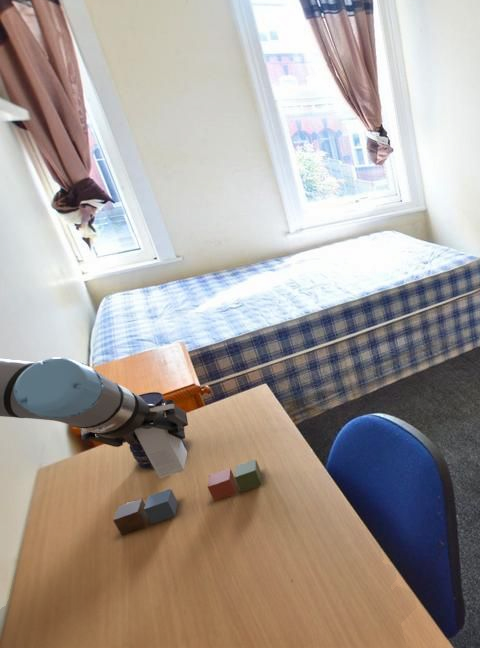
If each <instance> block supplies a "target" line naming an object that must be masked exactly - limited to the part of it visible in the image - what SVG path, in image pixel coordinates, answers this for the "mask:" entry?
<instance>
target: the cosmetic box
mask: <svg viewBox="0 0 480 648" xmlns="http://www.w3.org/2000/svg"><path fill="white" fill-rule="evenodd" d="M134 432H135V434H136V436H137V438H138V440H139V441H140V443H141V445H142V447H143V449H144V451H145V453H146V455H147V457H148V458H149V460H150V462H151V464H152V466H153V468H154V469H153V470H154V471H155V473H156V475H157V477H158V478H159V479H160V480H161V479H163V478H166V477H169V476H172V475H176V474H178V473H181V472H183V471H184V470H185V466H186V461H187V456H188V451H187V449H185V447H184V445H183V443H182V441H181V439H179V438H177V437H175V436H173V435H171V434H169V433H168V430H164V429H159V428H150V429H144V428H139V429H136V430H134Z"/></svg>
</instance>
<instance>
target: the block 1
mask: <svg viewBox="0 0 480 648" xmlns="http://www.w3.org/2000/svg"><path fill="white" fill-rule="evenodd" d="M145 504H146V502H145V501H144V499H143V498H142V497H141V498H139V499H135V500H133V501H130V502H127V503H124V504H122V505H118V506H117V509H116V511H115V513H114V517H113V519H112V521H113V523H114V525H115V526H116V528H117V530H118V532H119V533H120V535H121V536H123V535H126V534H129V533H131V532H135V531H137V530H140V529H143V528H146V527H147V524H148V520H149V518H148V516H147V514H146V512H145V511H144V508H145Z"/></svg>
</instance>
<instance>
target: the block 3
mask: <svg viewBox="0 0 480 648" xmlns="http://www.w3.org/2000/svg"><path fill="white" fill-rule="evenodd" d="M207 489H208V492H209V494H210V496H211V498H212V500H213V502H217V501H220V500H222V499H225V498H228V497H231V496H234V495H236V494H237V493H236V492H237V482H236V480H235V474H234V473H233V471H232V469H231V467H229V468H226V469H224V470H221V471H218V472H215V473H212V474H209V476H208V482H207Z"/></svg>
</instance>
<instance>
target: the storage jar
mask: <svg viewBox="0 0 480 648" xmlns="http://www.w3.org/2000/svg"><path fill="white" fill-rule="evenodd" d="M137 395H138V396H140V397H141V398H142V399H143V400H144V401H145V402H146V403H147V404H153V405H155V406H156V407H157V406H162V404H164V403H165V402H166V399H165V398H164V395H163V393H161V392H158V391H151V392H145V393H142V394H137ZM181 441H182V443H183V445H184V447H185V449H186V448H187V444H186V442H185V441H184V439H181ZM128 445H129V451H130V453H131V454H132V456H133V459H134V460H135V461H136V462H137V464H138V466H139V468H140V469H143V470H154V468H153V466H152V464H151V462H150V460H149V458H148V457H147V455H146V453H145V451H144V449H143V447H142V445H141V444H134V443H133V444H128ZM186 450H187V449H186Z"/></svg>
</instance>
